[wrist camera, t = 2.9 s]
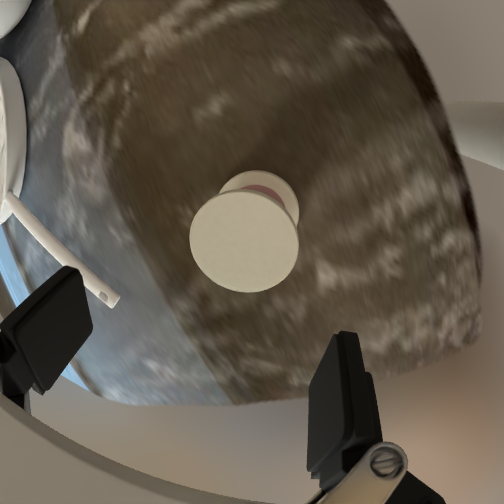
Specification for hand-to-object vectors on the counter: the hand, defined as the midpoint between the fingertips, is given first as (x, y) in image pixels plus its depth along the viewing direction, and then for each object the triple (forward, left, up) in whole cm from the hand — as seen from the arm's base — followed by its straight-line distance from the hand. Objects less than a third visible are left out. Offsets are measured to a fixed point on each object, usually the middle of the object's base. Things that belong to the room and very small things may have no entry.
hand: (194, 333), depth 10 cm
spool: (0, 0, -13) cm, 13 cm away
